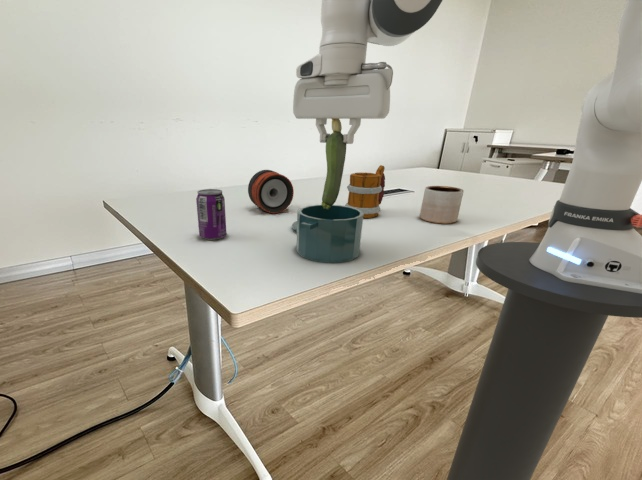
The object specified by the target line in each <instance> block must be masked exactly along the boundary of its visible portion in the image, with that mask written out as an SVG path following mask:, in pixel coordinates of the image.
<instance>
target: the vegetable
mask: <svg viewBox="0 0 642 480" xmlns="http://www.w3.org/2000/svg"><path fill="white" fill-rule="evenodd" d="M342 127H343V126H342V121H341V119H333V118H331V130H332V132H331V133H329V134H330V135H329V136H328V138H327V141H326V143H325V159H326V176H325V177H326V178H325V180H324V181H325V182H324V185H323V186H324V187H323V192H322V197H321V204H320V205H322V206H323V208H326V209H327V210H328V209H329V208H330V207H331V206H332V205H335V203H336V201H337V199H338V197H339V194H340V191H341V185H342V179H343V174H344V169H345V162H346V154H347V144H344V143H343V140H344V138H343V135H344V133H342V129H343V128H342Z"/></svg>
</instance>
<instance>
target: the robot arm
mask: <svg viewBox="0 0 642 480" xmlns="http://www.w3.org/2000/svg"><path fill="white" fill-rule="evenodd" d="M442 2H443V0H321V8H320V24H321V30H322V31H321V39H320V42H319V47H318V48H319V49H318V53H317V54H316V55H314V56H313V57H312V58H309V59H308V60H306V61H304V62H302V63H301V64H299V65H298V66H297V67H296V71H295V76H296V77H297V78H298V80H297V81H296V83H295V85H294V90H293V100H292V113H293V115H294V117H295V118H296V119H299V120H306V119H307V120H310V119H311V120H315V126H316V129H317V131H318V134H319V142H320V143H321V144H322V143H323V144H324V143H325V144H326V141H327V138H328V136H329V135H330V134H331V133H329V132H327V130H326V127H325V126H326V125H327V124H328V123H327V122H328V121H327V120H328V119H329V120H330V119H331V118H333V119H339V120H341V119H342V120H343V119H344V120H345V119H347V120H349V123H348V124H349V126H351V127H350V128H349V130H348V132H347V133H343V138H344V140H343V143H344V144H346V145H352V144H353V143H354V140H355V134H356V133H357V131H358V129H359V128H360V126H361V122H362V119H363V120H365V119H366V120H367V119H368V120H370V119H371V120H372V119H373V120H374V119H375V120H376V119H377V120H378V119H379V120H380V119H381V120H382V119H385V118H386V117H387V116H388V115H389V113H390V107H391V86H392V83H393V78H394V69H393V67H392V66H391V65H390V64H388V63H387V62H386V61H379V62H368V63H366V61H367V51H368V50H367V49H368V43H369V44H374V45H379V46H384V47H395V46H398V45H400V44H402V43H404V42H405V41H406V40H407V39H409V38H410V37H411V36H412V35H413V34H414V33H415V32H417V31H419V30H420V29H421V28H423V27H424V26H425V25H426V24H427V23H428V22H430V20H431V19H432V18H433V17H434V16H435V14H436V12H437V11H438V9H439V8H440V6H441V5H442ZM617 33H618V46H617V55H616V61H615V66H614V71H613V72H611V73H608V74H607V75H605V76H604V77H603V78H602V77H601V79H600V80H598V81H597V82H596V83H595V84H594V85H593V86H592V87H591V88H590V89H589V90H588V92H587V93H586V94H585V96H584V98H583V100H582V102H581V115H580V120H579V124H578V128H577V134H576V140H575V146H574V152H573V158H572V162H571V165H570V168H569V171H568V174H567V176H566V180H565V182H564V186H563V188H562V192H561V193H560V197H559V199H558V200H556V202H555V204H554V205H553V208H552V211H551V214H550V216H549V218H548V224H547V225H548V227H547V230H546V231H545V234H544V236H543V237H542V240H541V241H540V242H539V243H540V245H539V247H538V248H537V250H536V251H535V253H534V254H533V255H532V257H531V258H530V259H529V261H530V263H531V264H532V265H534V266H535V267H537V268H539V269H541V270H544V271H546V272H548V273H551V274H553V275H555V276H556V277H558V278H559V279H561V280H564V281H568V282H573V283H580V284H586V285H592V286H598V287H604V288H610V289H616V290H622V291H629V292H635V293H641V294H642V234H640V233H639V232H638V231H637V230H636V229H635V228H642V214H641V213H639V212H638V211H636V210H634V209H632V208H631V207H632V205H633V202H634V200H635V197H636V195H637V193H638V191H639V188H640V187H641V184H642V0H626V1H625V4H624V7H623V10H622V13H621V16H620V19H619V22H618V26H617ZM331 120H332V119H331Z"/></svg>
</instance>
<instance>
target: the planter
mask: <svg viewBox="0 0 642 480" xmlns="http://www.w3.org/2000/svg"><path fill="white" fill-rule="evenodd" d="M423 191H424V193H423V197H422V202H421V206H420V207H421V208H420V212H419V218H420V219H421V220H423V221H424V222H428V223H431V224H432V223H433V224H439V225H440V224H441V225H448V224H453V223H456V222H457V221H458V219H459V215H460V209H461V205H462V200H463V196H464V192H465V190H464V189H463V188H460V187H455V186H448V185H428V186H425V188H424V190H423Z"/></svg>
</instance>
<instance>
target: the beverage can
mask: <svg viewBox="0 0 642 480" xmlns="http://www.w3.org/2000/svg"><path fill="white" fill-rule="evenodd" d="M195 201H196V213H197V221H198V222H197V225H198V236H199V237H200V238H203V239H204V240H206V241H207V240H208V241H216V240H220V239H222V238H224V237H226V236H227V220H226V219H227V215H226V201H225V196H224V194H223V190H222V189H218V188H205V189H200V190H197V196H196V198H195Z"/></svg>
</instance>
